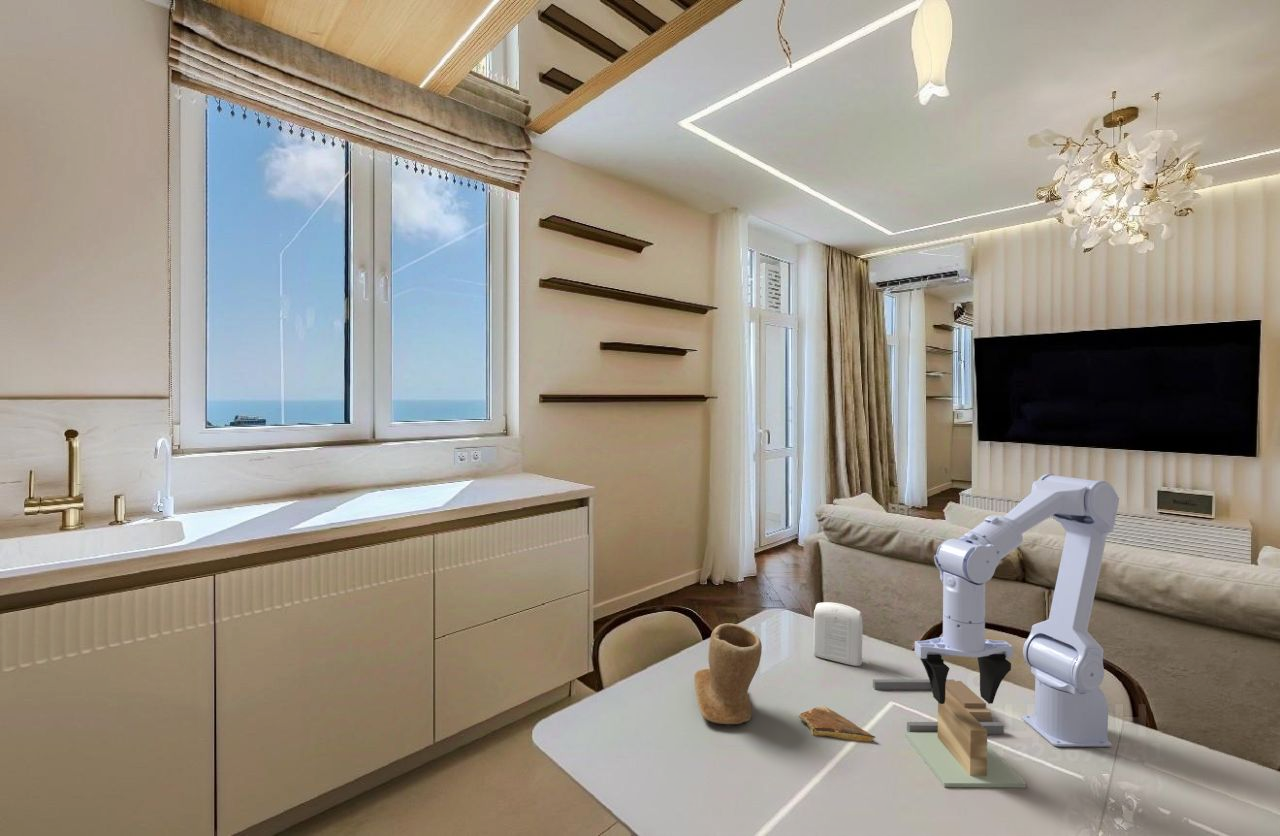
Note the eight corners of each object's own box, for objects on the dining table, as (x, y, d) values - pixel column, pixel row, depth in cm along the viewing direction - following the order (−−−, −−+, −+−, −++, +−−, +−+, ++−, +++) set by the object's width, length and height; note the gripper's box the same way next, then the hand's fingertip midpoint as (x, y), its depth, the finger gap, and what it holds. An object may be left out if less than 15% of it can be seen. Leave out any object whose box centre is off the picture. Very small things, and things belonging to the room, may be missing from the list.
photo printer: (863, 660, 117) (863, 605, 116) (860, 669, 113) (860, 611, 113) (815, 649, 122) (815, 596, 122) (811, 657, 118) (811, 602, 118)
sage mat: (976, 735, 90) (976, 732, 90) (1026, 787, 78) (1026, 783, 78) (905, 735, 91) (905, 732, 91) (944, 787, 79) (944, 783, 79)
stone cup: (767, 731, 92) (767, 646, 92) (698, 729, 93) (698, 645, 92) (752, 684, 107) (752, 611, 107) (693, 683, 108) (693, 611, 107)
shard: (875, 745, 89) (875, 734, 89) (844, 760, 85) (844, 750, 85) (824, 712, 98) (824, 703, 98) (794, 725, 95) (794, 715, 95)
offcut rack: (953, 686, 106) (953, 672, 106) (1003, 734, 91) (1004, 717, 91) (872, 686, 106) (872, 672, 106) (909, 733, 91) (909, 716, 91)
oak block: (952, 737, 89) (953, 696, 89) (986, 775, 80) (987, 730, 80) (937, 737, 89) (938, 696, 89) (970, 775, 80) (970, 730, 80)
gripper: (993, 606, 88) (992, 686, 89) (905, 606, 88) (905, 686, 89) (1023, 624, 81) (1021, 711, 82) (927, 624, 81) (927, 711, 82)
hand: (962, 700), depth 85 cm, fingers open, 7 cm apart
